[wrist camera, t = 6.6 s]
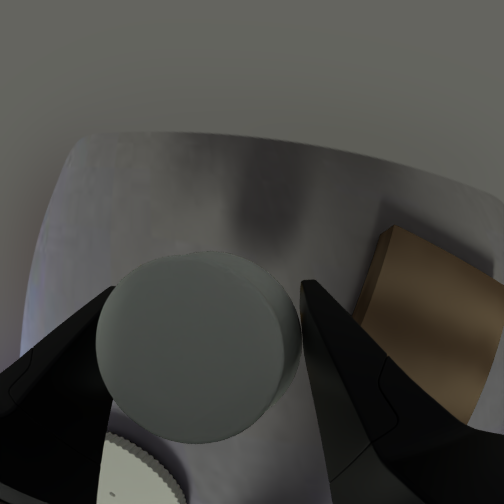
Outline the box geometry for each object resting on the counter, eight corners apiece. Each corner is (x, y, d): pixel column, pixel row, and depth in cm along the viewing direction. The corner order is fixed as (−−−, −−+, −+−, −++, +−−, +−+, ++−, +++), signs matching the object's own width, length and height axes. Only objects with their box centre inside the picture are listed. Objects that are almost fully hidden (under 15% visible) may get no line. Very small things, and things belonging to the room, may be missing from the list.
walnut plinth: (441, 431, 18) (457, 441, 15) (314, 398, 19) (321, 411, 16) (491, 293, 20) (511, 290, 17) (380, 234, 22) (394, 224, 19)
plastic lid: (219, 509, 18) (215, 524, 15) (131, 534, 17) (123, 545, 14) (119, 403, 20) (105, 411, 18) (50, 447, 19) (37, 454, 17)
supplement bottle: (302, 350, 14) (365, 412, 5) (211, 392, 14) (142, 491, 4) (256, 259, 15) (243, 177, 6) (167, 303, 15) (45, 288, 5)
